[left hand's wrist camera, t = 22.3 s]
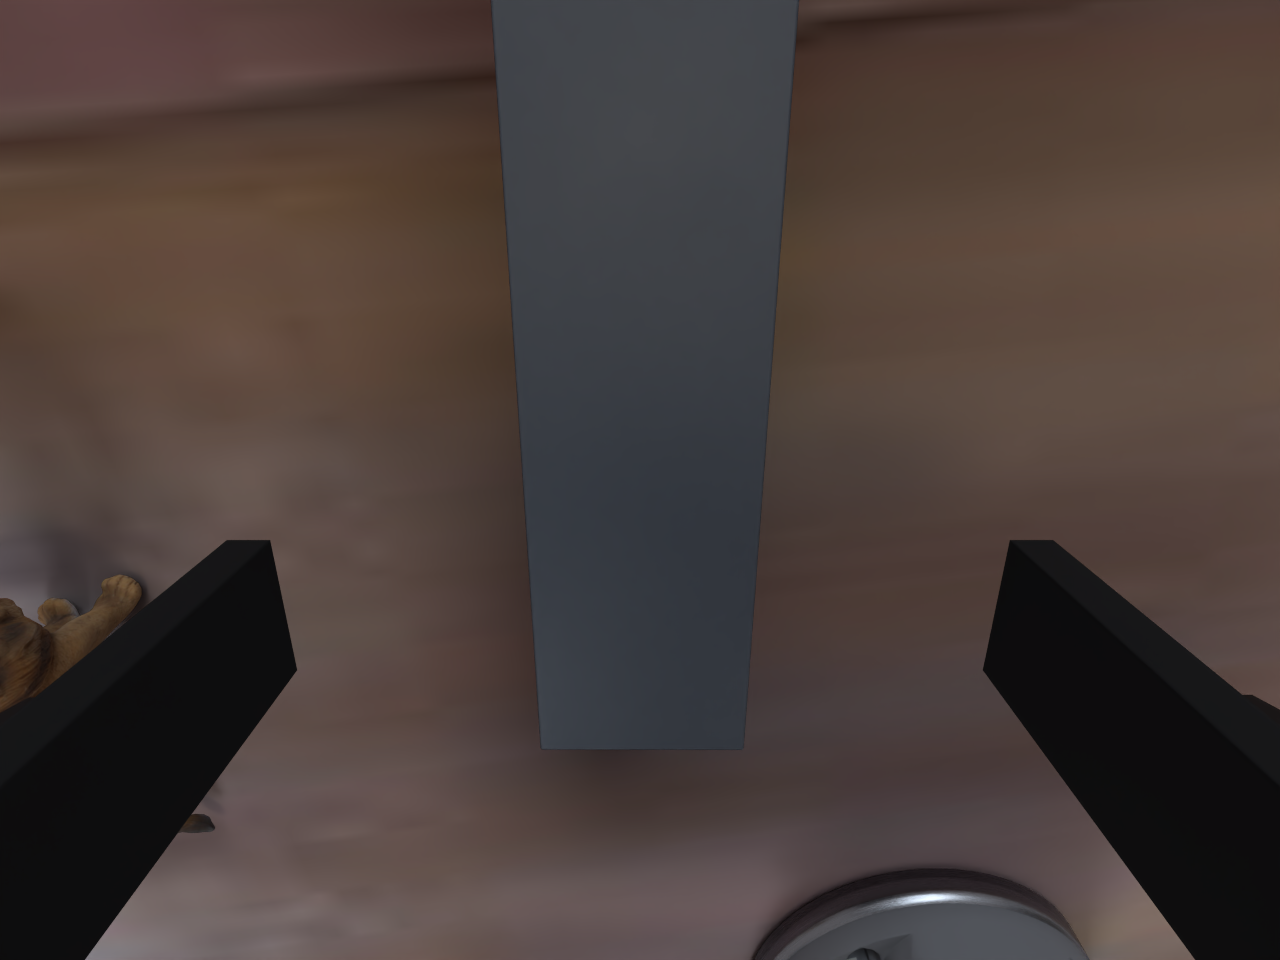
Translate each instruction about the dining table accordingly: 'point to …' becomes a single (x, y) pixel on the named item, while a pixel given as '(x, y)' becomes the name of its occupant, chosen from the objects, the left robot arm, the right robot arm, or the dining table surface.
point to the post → (643, 349)
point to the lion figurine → (63, 647)
